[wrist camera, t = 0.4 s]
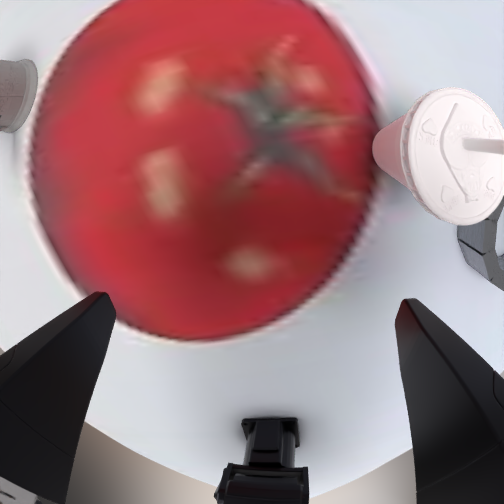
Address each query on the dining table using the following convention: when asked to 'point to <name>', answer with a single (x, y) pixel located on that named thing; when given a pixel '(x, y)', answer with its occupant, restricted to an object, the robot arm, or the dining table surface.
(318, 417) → the dining table surface
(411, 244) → the dining table surface
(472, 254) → the stone ring
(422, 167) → the smoothie
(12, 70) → the grey mug
